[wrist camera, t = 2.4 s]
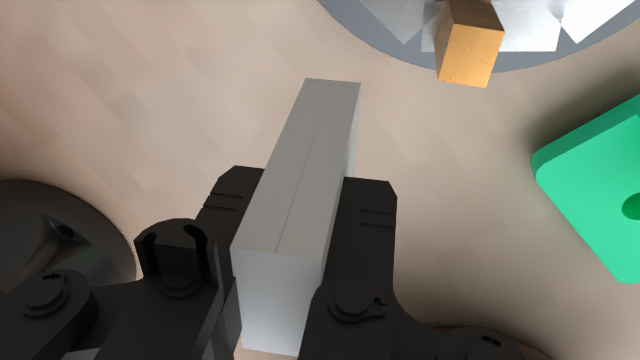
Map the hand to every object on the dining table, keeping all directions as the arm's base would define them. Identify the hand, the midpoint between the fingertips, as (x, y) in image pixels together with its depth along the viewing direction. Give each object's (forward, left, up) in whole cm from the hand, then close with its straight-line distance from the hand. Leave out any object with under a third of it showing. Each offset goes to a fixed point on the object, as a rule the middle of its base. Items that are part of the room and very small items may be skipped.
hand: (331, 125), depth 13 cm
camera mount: (+16, -12, -16) cm, 26 cm away
